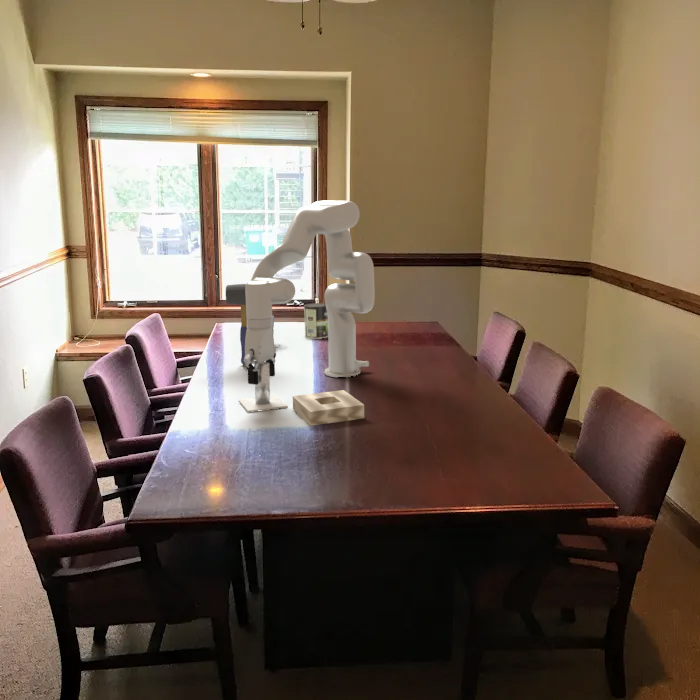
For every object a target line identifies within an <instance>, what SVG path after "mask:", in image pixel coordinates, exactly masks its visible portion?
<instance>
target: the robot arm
mask: <svg viewBox="0 0 700 700" xmlns="http://www.w3.org/2000/svg"><path fill="white" fill-rule="evenodd" d="M359 220H360V209H359V207H358V205H357V204H356V203H355V202H353V201H350V200H317V201H314V202H313V203H311V204H310V205H309V206H307V205H306V206H302V207H300V208H298V209H297V210H296V211H295V213H294V215H293V217H292V220H291V221H290V223H289V226H288V229H287V230H286V232H285V234H284V237H283V240H282V241H281V243H280V244H279V245H278V246H277V247H276V248H274V249H273V250H272V251H271V252H270V253H268V254H267V255H266V256H265V257H264V258H263V259H262V260H261V261H260V262H259V263H258V265H257V267H256V268H255V270H254V273H253V275H252V277H251V279H250V281H248V282H247V283H245V284H246V286H245V295H246V318H247V330H246V337H245V358H244V363H245V366H244V367H245V369H246V371H247V383H248V384H249V385H254V386H255V385H257V384H258V371H257V368H258V365H259V364H260V363H262V362H268V363H269V371H270V377H275V376H276V368H275V366H276V365H275V363H276V356H277V350H278V349H277V348H278V347H277V345H275V338H274V334H273V333H274V332H273V330H274V327H273V323H272V316H273V305H277V304H278V305H280V304H282V305H283V304H287V303H289V302H291V301H292V300H293V299H294V297H295V295H296V286H295V284H294V283H293V282H292V281H291V280H289V279H287V278H283V277H274V276H275V275H276V274H277V273H278V272H279V271H281V270H282V269H284V268H286V267H288V266H291V265H294V264H296V263H298V262H300V261H303V260H305V258H306V257H307V256H308V252H309V250H310V249H311V247H312V244H313V242H314V241H315V237H316V236H317V235H323V236H324V238H325V244H326V262H327V263H326V264H327V272H328V276H330V277H331V278H332V279H335V280H340V281H341V280H342V281H353V282H354V283H347V282H346V283H344V282H335V283H332V284H330V285H328V286H327V288H326V289H325V291H324V295H323V296H324V298H323V299H324V302H325V303H324V304H326V309H327V315H328V337H327V340H328V341H327V343H328V345H327V346H328V347H327V348H328V367H326V368H325V369H324V372H323V374H324V375H326V376H327V377H331V378H338V377H346V378H352V377H351V376H353V377H356V375H357V376H359V375H360V374H361V368H362V367H363V368H364V367H369V366H370V362H369V360H365V361H363V360H358V359H357V358H356V357H357V352H356V351H357V350H356V349H357V344H356V343H357V341H356V338H357V335H356V334H357V333H356V331H357V330H356V329H357V328H356V327H357V326H356V321H355V318H354V315H353V314H352V313H356V314H368V313H369V312H370V311H372V309H373V308H374V305H375V299H376V296H375V295H376V293H375V269H374V267H375V266H374V261H373V259H372V257H371V256H370V255H369V254H368V253H366V252H362V251H354V250H353V245H352V244H353V243H352V235H351V232H350V230H349V229H352V228H354V227H355V226H356V225H357V223H358V222H359ZM272 328H273V330H272ZM254 364H255V365H254ZM358 374H359V375H358Z"/></svg>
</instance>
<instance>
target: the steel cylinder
mask: <svg viewBox="0 0 700 700" xmlns="http://www.w3.org/2000/svg"><path fill="white" fill-rule="evenodd" d="M254 365H255V364H253V366H254ZM257 371H258V384H257V385H255V384H254V391H255V392H254V396H255V397H254V398H255V403H256V404H269V403H270V396H271V380H270V379H271V378H270V377H271V376H270V371H269V363H268V362H266V361H265V362H262V363H260V364H259V365H258V368H257Z"/></svg>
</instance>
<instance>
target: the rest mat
mask: <svg viewBox="0 0 700 700" xmlns="http://www.w3.org/2000/svg"><path fill="white" fill-rule="evenodd" d="M239 402H240V403H241V404H242V405H241V404H240V403H239ZM238 403H239V404H240V405H241V406H242V408H243V409H244V408H245V409H246V410H247V411H246V410H245V409H244V410H245V411H246V412H247V413H248V412H250V413H253V412H252V411H258V410H266V411H271V410H270V409H274V410H280V409H279V408H281V409H288V404H286V403H285V402H284V401H283V400H282V399H281V398H280V397H279V396H278V395H277V394H275V395H274V394H273V395H270V403H269V404H256V403H255V397H250V398H240V399H238ZM258 412H259V411H258Z"/></svg>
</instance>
